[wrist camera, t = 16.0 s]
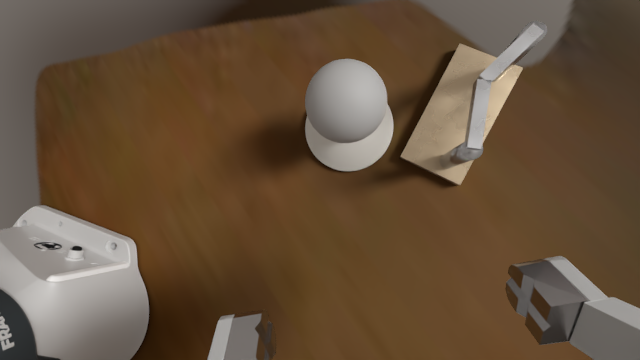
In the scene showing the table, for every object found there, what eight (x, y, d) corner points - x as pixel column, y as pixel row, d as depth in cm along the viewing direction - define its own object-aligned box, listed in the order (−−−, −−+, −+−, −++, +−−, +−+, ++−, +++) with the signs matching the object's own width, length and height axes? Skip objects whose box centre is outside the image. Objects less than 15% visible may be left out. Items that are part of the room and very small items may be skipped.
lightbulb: (396, 112, 29) (406, 66, 19) (365, 166, 30) (357, 151, 19) (343, 86, 31) (323, 28, 20) (314, 138, 31) (279, 109, 20)
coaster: (292, 148, 32) (290, 147, 31) (330, 72, 32) (329, 70, 31) (367, 186, 30) (367, 186, 30) (408, 107, 30) (409, 105, 29)
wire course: (399, 158, 30) (409, 142, 21) (456, 49, 29) (491, -14, 20) (456, 185, 29) (492, 181, 20) (516, 73, 28) (581, 17, 19)
